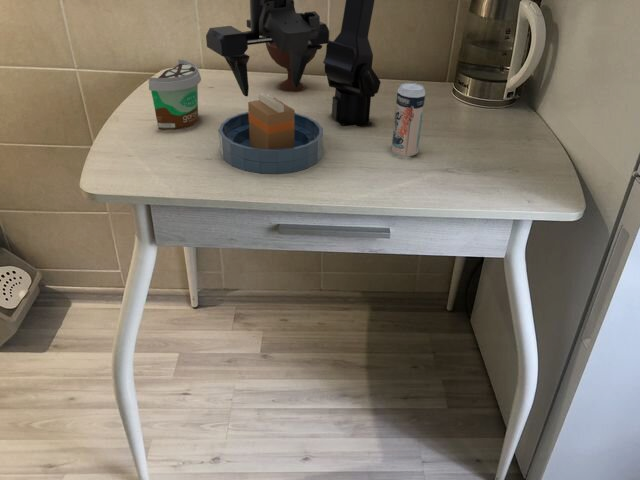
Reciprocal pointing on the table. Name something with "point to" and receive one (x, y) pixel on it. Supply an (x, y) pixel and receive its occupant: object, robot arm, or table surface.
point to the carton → (270, 124)
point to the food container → (176, 96)
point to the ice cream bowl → (285, 65)
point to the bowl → (270, 160)
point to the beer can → (408, 119)
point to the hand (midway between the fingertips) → (271, 91)
